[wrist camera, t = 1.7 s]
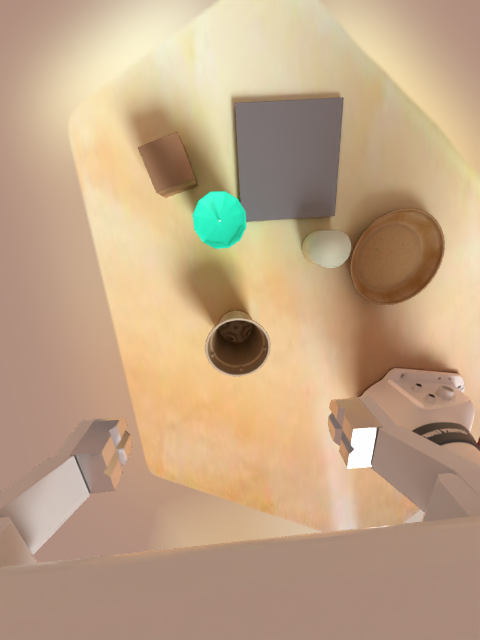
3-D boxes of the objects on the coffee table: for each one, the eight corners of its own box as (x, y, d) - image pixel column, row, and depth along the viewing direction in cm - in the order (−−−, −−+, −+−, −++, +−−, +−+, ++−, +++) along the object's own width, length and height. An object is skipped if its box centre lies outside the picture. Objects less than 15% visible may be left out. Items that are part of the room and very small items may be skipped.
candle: (195, 209, 35) (181, 199, 24) (234, 195, 35) (237, 179, 23) (210, 249, 37) (203, 257, 26) (246, 236, 37) (255, 239, 26)
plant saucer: (329, 289, 41) (336, 293, 38) (366, 197, 36) (376, 195, 34) (403, 308, 43) (414, 313, 40) (448, 224, 38) (463, 224, 36)
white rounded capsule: (333, 229, 37) (353, 228, 32) (331, 261, 39) (349, 266, 33) (302, 231, 37) (316, 231, 31) (301, 263, 39) (314, 269, 33)
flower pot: (209, 300, 40) (204, 317, 32) (264, 301, 41) (273, 318, 33) (209, 349, 43) (205, 376, 35) (260, 349, 44) (267, 376, 36)
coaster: (339, 101, 31) (343, 97, 30) (331, 216, 36) (334, 215, 35) (234, 106, 31) (235, 103, 30) (241, 222, 36) (241, 222, 35)
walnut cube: (184, 146, 32) (177, 132, 28) (198, 185, 34) (193, 178, 29) (150, 159, 33) (137, 147, 28) (165, 197, 34) (156, 192, 30)
